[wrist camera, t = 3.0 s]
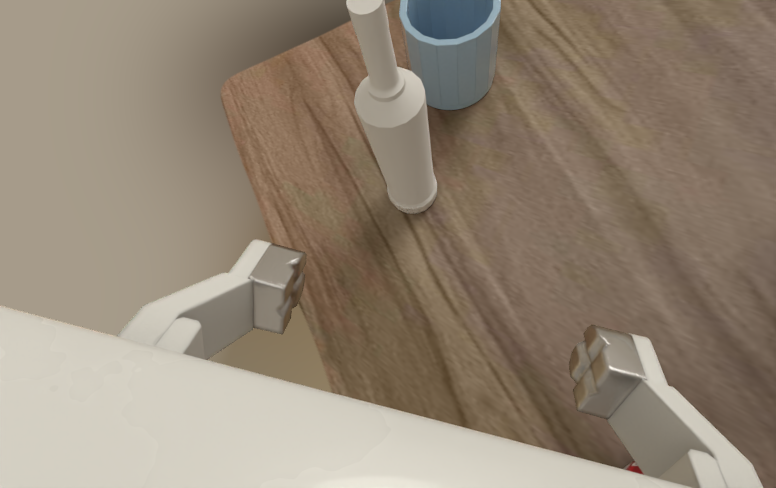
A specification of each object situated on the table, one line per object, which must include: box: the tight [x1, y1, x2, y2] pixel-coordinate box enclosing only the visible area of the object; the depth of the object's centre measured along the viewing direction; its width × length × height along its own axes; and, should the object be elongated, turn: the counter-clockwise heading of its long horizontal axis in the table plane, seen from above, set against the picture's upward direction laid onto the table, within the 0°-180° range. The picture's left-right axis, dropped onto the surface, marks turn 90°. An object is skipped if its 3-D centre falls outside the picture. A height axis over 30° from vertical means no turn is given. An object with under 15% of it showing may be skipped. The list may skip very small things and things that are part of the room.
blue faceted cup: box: [399, 0, 501, 110], centre depth 48 cm, size 13×9×10 cm
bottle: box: [346, 0, 437, 214], centre depth 36 cm, size 5×5×25 cm
